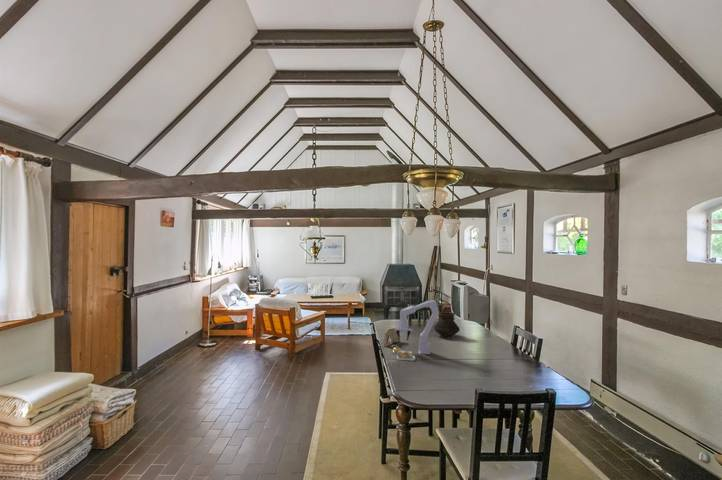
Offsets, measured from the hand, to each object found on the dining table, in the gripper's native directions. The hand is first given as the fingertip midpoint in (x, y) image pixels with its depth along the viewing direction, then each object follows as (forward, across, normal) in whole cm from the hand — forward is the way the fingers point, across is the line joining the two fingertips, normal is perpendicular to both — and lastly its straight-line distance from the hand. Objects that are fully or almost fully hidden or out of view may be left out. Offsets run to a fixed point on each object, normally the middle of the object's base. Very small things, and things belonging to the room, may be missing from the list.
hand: (403, 340), depth 308 cm
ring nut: (+8, +5, +3) cm, 10 cm away
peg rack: (+9, -2, +19) cm, 22 cm away
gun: (+10, +10, -23) cm, 27 cm away
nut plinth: (+9, +6, +4) cm, 12 cm away
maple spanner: (+8, -2, +19) cm, 21 cm away
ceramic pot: (+10, -40, -58) cm, 71 cm away
